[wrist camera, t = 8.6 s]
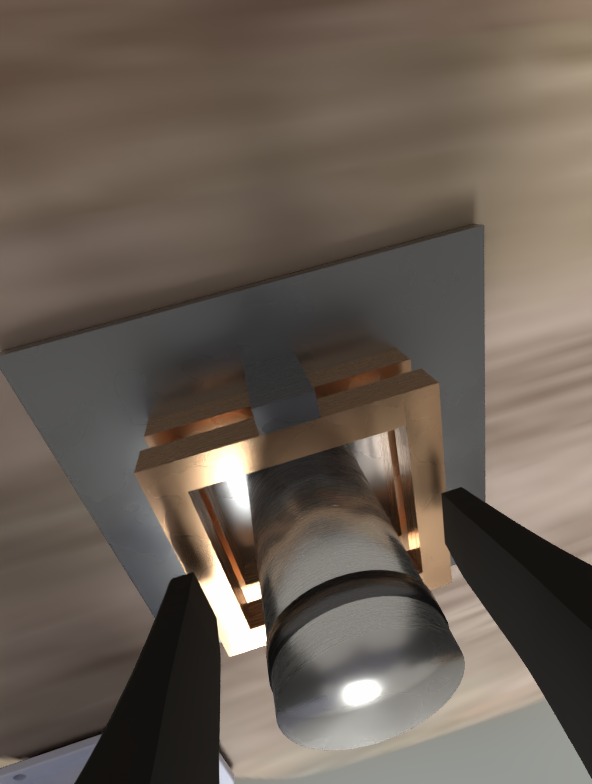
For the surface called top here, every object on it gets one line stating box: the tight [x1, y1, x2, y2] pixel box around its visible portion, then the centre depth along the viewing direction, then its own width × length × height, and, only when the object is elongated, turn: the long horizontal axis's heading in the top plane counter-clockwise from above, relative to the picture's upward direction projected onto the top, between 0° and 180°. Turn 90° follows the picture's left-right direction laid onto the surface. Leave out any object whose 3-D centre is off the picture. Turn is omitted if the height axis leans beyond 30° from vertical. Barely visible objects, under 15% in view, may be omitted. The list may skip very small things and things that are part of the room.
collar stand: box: [0, 224, 485, 657], centre depth 14 cm, size 14×14×3 cm
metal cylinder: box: [247, 444, 465, 750], centre depth 11 cm, size 4×4×7 cm
